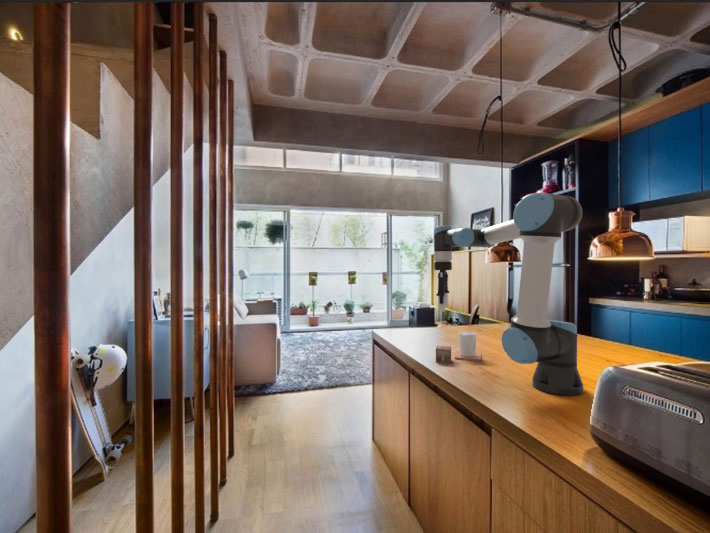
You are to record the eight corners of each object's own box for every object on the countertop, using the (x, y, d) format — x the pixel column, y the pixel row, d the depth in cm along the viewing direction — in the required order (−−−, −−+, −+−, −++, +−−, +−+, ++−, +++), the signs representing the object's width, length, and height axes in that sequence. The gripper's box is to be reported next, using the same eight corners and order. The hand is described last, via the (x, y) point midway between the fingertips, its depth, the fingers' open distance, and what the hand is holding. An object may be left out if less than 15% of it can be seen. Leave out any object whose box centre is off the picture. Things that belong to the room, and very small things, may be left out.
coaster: (480, 361, 152) (480, 359, 152) (454, 359, 156) (454, 357, 156) (480, 354, 162) (480, 353, 162) (456, 353, 166) (456, 351, 166)
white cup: (454, 354, 161) (454, 332, 161) (467, 352, 165) (467, 331, 165) (467, 358, 154) (467, 335, 154) (480, 355, 158) (480, 333, 158)
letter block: (450, 363, 149) (449, 349, 149) (435, 362, 151) (435, 348, 151) (451, 359, 155) (451, 346, 155) (437, 358, 157) (437, 345, 157)
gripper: (437, 261, 166) (437, 305, 166) (430, 261, 142) (430, 312, 143) (453, 261, 163) (454, 306, 163) (449, 260, 140) (449, 313, 140)
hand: (443, 309), depth 153 cm, fingers open, 13 cm apart
